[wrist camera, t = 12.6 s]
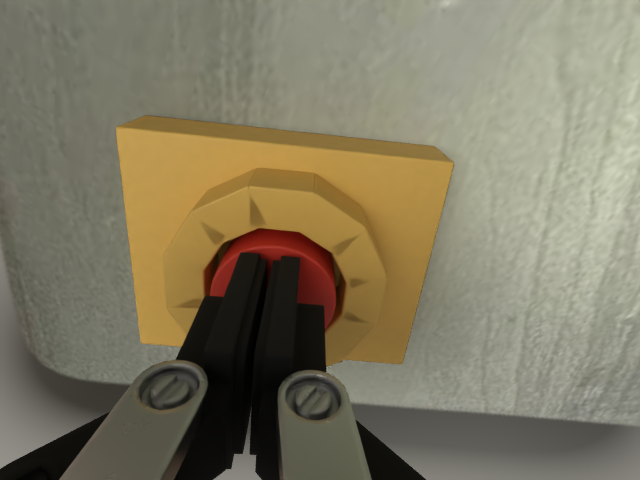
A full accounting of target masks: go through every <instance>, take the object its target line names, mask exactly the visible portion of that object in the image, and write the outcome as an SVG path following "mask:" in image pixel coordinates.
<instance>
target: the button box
mask: <svg viewBox="0 0 640 480" xmlns="http://www.w3.org/2000/svg"><path fill="white" fill-rule="evenodd" d="M116 136H117V144H118V153H119V161H120V170H121V178H122V187H123V195H124V204H125V212H126V221H127V229H128V238H129V246H130V255H131V263H132V272H133V280H134V289H135V298H136V306H137V315H138V323H139V332H140V340H141V343H142V344H155V345H167V346H180V347H182V345H183V343H184V340H185V338H186V336H187V334H188V332H189V329H190V327H191V325H192V323H193V320H194V318H195V316H196V314H197V312H198V309H199V307H200V305H201V303H202V300H203V299H204V297H205V296H206V295H208V296H210V292H211V285H212V281H213V278H214V276H215V274H216V271H217V269H218V267H219V265H220V263H221V260H222V258H223V256H224V254H225V252H226V250H227V248H228V246H229V244H230V243H231V241H232V240H233V239H234V238H237V237H239V236H242V235H244V234H246V233H249V232H251V231H254V230H256V229H258V228H263V229H273V230H284V231H294V232H300V233H302V234H303V235H305V236H306V237H308V238H309V239H311V240H312V241H314V242H315V243H317V244H318V245H320V246H322V247H323V248H325V249H326V250H328V251H329V252H330V254H331V257H332V260H333V264H334V276H335V290H336V307H335V311H334V314H333V317H332V319H331V321H330V322H329V324H328V326H327V327H326V328H325V349H326V366H329V365H332V364H335V363H338V362H341V361H343V360H355V361H367V362H380V363H392V364H402V363H403V360H404V356H405V352H406V348H407V344H408V341H409V337H410V333H411V329H412V325H413V321H414V318H415V314H416V310H417V306H418V302H419V298H420V294H421V291H422V287H423V283H424V279H425V275H426V271H427V267H428V264H429V260H430V256H431V252H432V248H433V244H434V241H435V237H436V233H437V229H438V225H439V221H440V217H441V214H442V210H443V206H444V202H445V198H446V194H447V190H448V187H449V183H450V179H451V175H452V171H453V167H454V162H453V161H451V160H450V159H449V158H448V157H447V156H445V155H444V154H443V153H442V152H441V151H440V150H438V149H437V148H436V147H434V146H426V145H416V144H407V143H398V142H388V141H379V140H370V139H361V138H351V137H342V136H333V135H323V134H314V133H305V132H296V131H286V130H277V129H268V128H258V127H249V126H240V125H231V124H221V123H212V122H203V121H193V120H184V119H175V118H166V117H156V116H147V115H146V116H143V117H141V118H138V119H135V120H133V121H130V122H128V123H125V124H123V125H120V126H118V127H116Z"/></svg>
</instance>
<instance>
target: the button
mask: <svg viewBox="0 0 640 480" xmlns="http://www.w3.org/2000/svg"><path fill="white" fill-rule="evenodd" d="M240 252H245V253H256V254H260V256H261V259H266V260H267V280H266V293H267V288H268V283H269V278H270V273H271V269H272V264H273V260H278V261H281V256H290V257H300V270H299V282H298V295H297V303H304V304H316V305H324V314H325V328H326V327H327V326H328V324H329V322H330V321H331V319H332V317H333V314H334V311H335V307H336V290H335V276H334V264H333V260H332V257H331V254H330V252H329V251H328V250H326V249H325V248H323V247H322V246H320V245H318V244H317V243H315V242H314V241H312V240H311V239H309V238H308V237H306V236H305V235H303V234H302V233H300V232H294V231H284V230H273V229H263V228H258V229H256V230H254V231H251V232H249V233H246V234H244V235H242V236H239V237H237V238H234V239H233V240H232V241H231V243H230V244H229V246H228V248H227V250H226V252H225V254H224V256H223V258H222V260H221V263H220V265H219V267H218V269H217V271H216V274H215V276H214V278H213V281H212V285H211V292H210V296H220V297H224V295H225V292H226V289H227V286H228V284H229V281H230V278H231V276H232V273H233V270H234V268H235V265H236V262H237V260H238V257H239V254H240Z"/></svg>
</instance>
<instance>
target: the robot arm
mask: <svg viewBox="0 0 640 480" xmlns="http://www.w3.org/2000/svg"><path fill="white" fill-rule="evenodd" d="M299 270H300V257H290V256H281V261H278V260H273V264H272V269H271V273H270V278H269V283H268V288H267V293H266V280H267V260H266V259H261V256H260V254H256V253H245V252H240V254H239V257H238V260H237V262H236V265H235V268H234V270H233V273H232V276H231V278H230V281H229V284H228V286H227V289H226V292H225V295H224V297H220V296H208V295H206V296H205V297H204V299H203V300H202V303H201V305H200V307H199V309H198V312H197V314H196V316H195V318H194V320H193V323H192V325H191V327H190V329H189V332H188V334H187V336H186V338H185V340H184V343H183V345H182V347H181V349H180V352H179V354H178V356H177V358H176V360H171V361H164V362H161V363H158V364H156V365H153V366H151V367H150V368H148V369H146V370H145V371H143V372H142V373H141V374H140V375H139V376H138V377H137V378H136V379H135V380H134V382H133V383H132V384H131V386H130V387H129V389H128V390H127V391H126V392H125V393H124V395H123V396H122V397H121V399H120V400H119V402H118V403H117V404H116V405H115V407H114V408H113V409H112V411H111V412H109V413H107V414H105V415H103V416H101V417H99V418H97V419H95V420H93V421H91V422H89V423H87V424H85V425H83V426H81V427H80V428H77V429H76V430H73V431H71V432H70V433H68V434H66V435H64V436H62V437H60V438H58V439H56V440H54V441H52V442H50V443H48V444H46V445H44V446H42V447H40V448H38V449H36V450H34V451H32V452H30V453H28V454H27V455H25V456H23V457H21V458H19V459H17V460H15V461H13V462H11V463H9V464H8V465H6V466H4V467H3V468H1V469H0V480H213V479H214V478H216V477H217V476H218V475H220V474H221V473H222V472H223V471H225V470H226V469H231V467H232V462H233V456H234V454H242V453H243V449H244V445H245V439H246V434H247V428H248V423H249V417H250V411H251V406H252V411H251V435H250V455H256V471H255V472H256V473H257V474H258V475H259V477H260V478H261V479H262V480H426V479H425V478H423V477H422V476H421V475H420V474H419V473H418V472H416V471H415V470H414V469H413V468H412V467H411V466H409V465H408V464H407V463H406V462H405V461H404V460H402V459H401V458H400V457H399V456H398V455H396V454H395V453H394V452H393V451H392V450H391V449H389V448H388V447H387V446H386V445H385V444H384V443H382V442H381V441H380V440H379V439H378V438H377V437H375V436H374V435H373V434H372V433H371V432H370V431H368V430H367V429H366V428H365V427H364V426H362V425H361V424H360V423H359V422H358V421H356V420H355V417H354V414H353V410H352V406H351V403H350V399H349V395H348V393H347V391H346V389H345V387H344V385H343V384H342V383H341V382H340V381H339V380H338V379H337V378H335V377H333V376H332V375H330V374H328V373H326V349H325V314H324V305H316V304H304V303H297V295H298V282H299Z"/></svg>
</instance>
